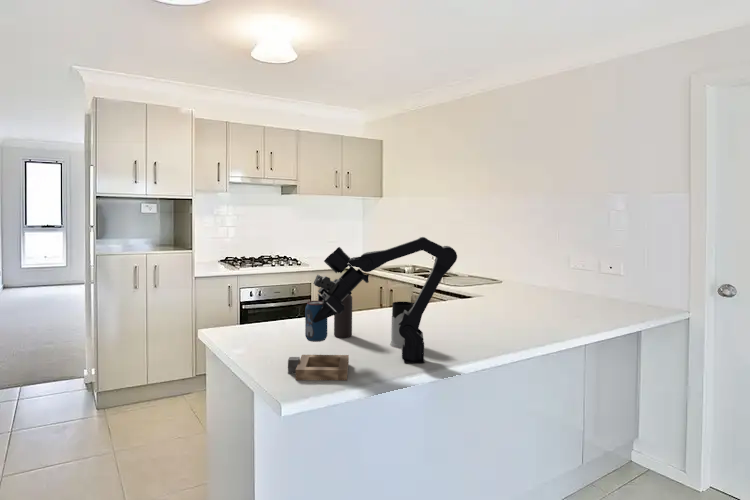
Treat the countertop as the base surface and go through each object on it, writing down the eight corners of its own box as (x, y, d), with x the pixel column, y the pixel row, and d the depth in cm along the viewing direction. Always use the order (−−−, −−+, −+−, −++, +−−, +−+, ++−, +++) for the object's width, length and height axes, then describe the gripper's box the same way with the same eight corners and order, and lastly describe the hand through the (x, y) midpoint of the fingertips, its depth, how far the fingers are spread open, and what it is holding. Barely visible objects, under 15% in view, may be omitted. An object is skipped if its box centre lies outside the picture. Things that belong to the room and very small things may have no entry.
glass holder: (394, 348, 176) (394, 306, 175) (382, 338, 190) (383, 298, 189) (417, 347, 179) (418, 305, 177) (404, 337, 192) (405, 298, 191)
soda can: (329, 337, 164) (329, 300, 163) (325, 342, 157) (325, 304, 156) (307, 336, 165) (307, 300, 164) (303, 342, 158) (303, 304, 157)
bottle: (349, 338, 189) (349, 285, 187) (331, 337, 190) (332, 284, 188) (353, 334, 195) (354, 282, 194) (336, 333, 197) (337, 282, 195)
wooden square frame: (348, 364, 158) (348, 351, 158) (346, 380, 144) (347, 366, 143) (292, 363, 158) (292, 351, 158) (284, 379, 143) (284, 366, 143)
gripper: (324, 262, 169) (291, 296, 167) (333, 269, 151) (296, 308, 149) (347, 285, 172) (315, 319, 170) (359, 295, 154) (323, 332, 152)
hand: (312, 319), depth 160 cm, fingers closed on soda can, 7 cm apart
